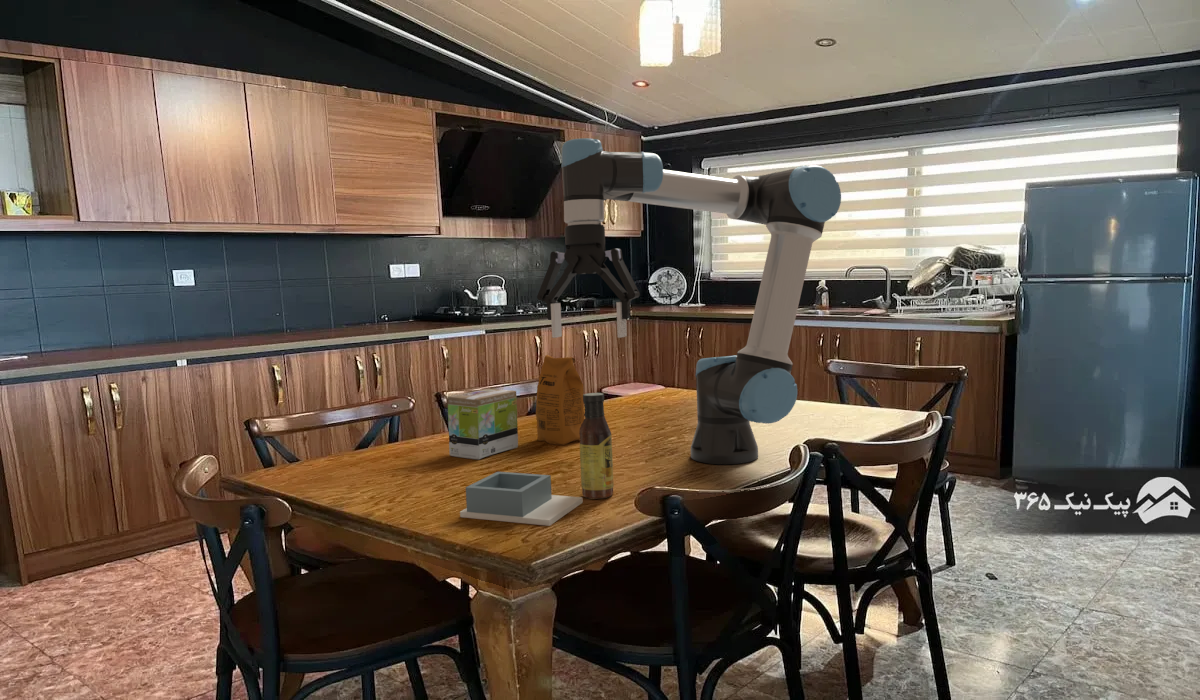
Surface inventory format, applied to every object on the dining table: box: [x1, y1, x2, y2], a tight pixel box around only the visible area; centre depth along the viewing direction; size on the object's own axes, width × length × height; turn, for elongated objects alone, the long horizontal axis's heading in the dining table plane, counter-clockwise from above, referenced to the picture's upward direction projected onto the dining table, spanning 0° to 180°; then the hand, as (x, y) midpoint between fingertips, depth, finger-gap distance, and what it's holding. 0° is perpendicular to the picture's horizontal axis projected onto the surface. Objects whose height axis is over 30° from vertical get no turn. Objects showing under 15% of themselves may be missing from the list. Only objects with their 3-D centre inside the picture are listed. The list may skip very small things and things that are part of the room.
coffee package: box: [535, 354, 585, 445], centre depth 204 cm, size 10×12×22 cm
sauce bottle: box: [579, 392, 614, 500], centre depth 152 cm, size 7×6×20 cm
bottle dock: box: [459, 471, 584, 527], centre depth 146 cm, size 18×14×6 cm
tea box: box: [447, 388, 519, 460], centre depth 195 cm, size 15×10×15 cm, turn 148°
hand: (589, 337), depth 151 cm, fingers open, 13 cm apart
